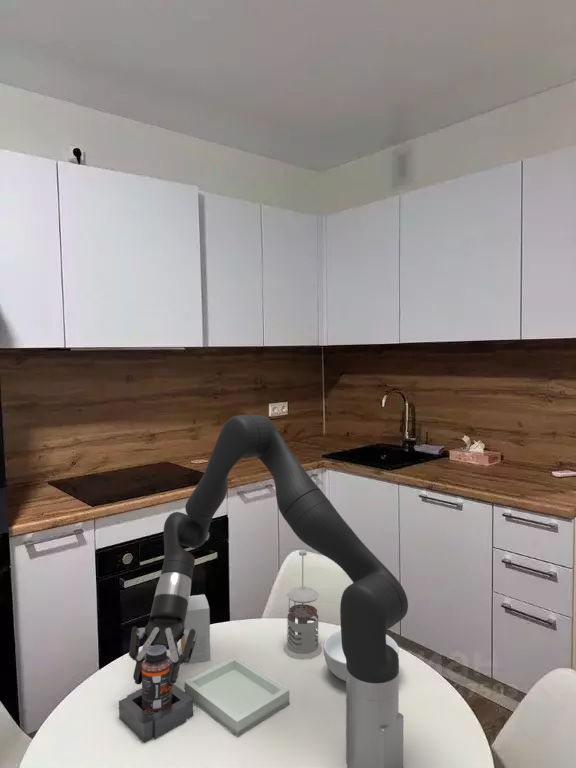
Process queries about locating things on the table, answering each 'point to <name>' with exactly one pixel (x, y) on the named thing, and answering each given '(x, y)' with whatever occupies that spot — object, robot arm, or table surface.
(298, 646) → the french press
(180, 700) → the collar
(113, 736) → the table surface
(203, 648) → the small box
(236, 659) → the tray
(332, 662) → the cereal bowl
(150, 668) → the supplement bottle
